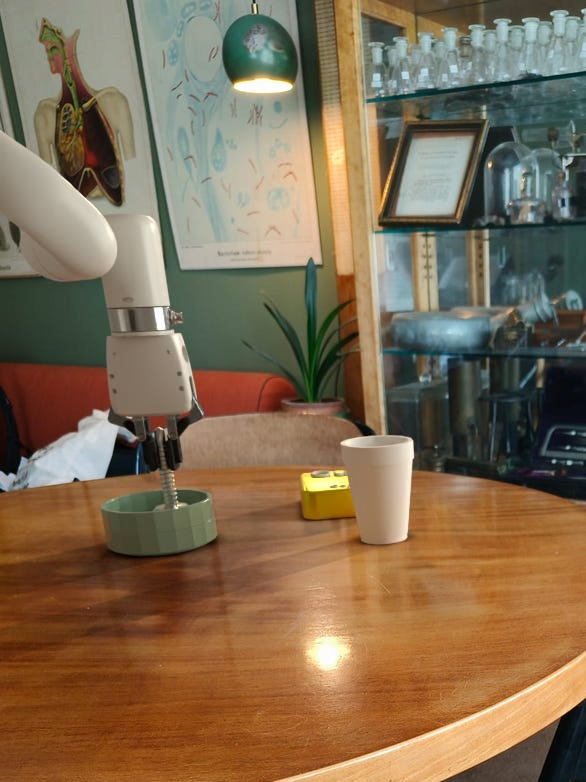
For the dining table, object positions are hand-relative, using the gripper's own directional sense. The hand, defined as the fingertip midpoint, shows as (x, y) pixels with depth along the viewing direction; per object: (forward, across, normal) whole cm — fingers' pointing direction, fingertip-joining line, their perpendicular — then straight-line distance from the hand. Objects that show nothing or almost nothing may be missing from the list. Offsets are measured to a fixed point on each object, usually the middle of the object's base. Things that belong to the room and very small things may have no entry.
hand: (165, 468), depth 118 cm
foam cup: (+10, -28, +4) cm, 31 cm away
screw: (+8, 0, 0) cm, 8 cm away
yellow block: (+10, -23, -16) cm, 30 cm away
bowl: (+10, +2, +1) cm, 10 cm away
